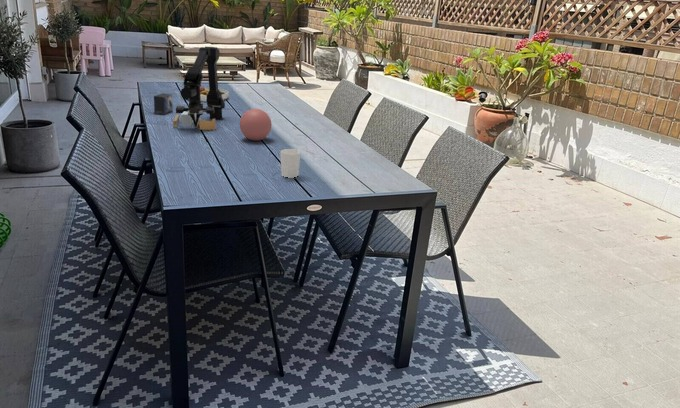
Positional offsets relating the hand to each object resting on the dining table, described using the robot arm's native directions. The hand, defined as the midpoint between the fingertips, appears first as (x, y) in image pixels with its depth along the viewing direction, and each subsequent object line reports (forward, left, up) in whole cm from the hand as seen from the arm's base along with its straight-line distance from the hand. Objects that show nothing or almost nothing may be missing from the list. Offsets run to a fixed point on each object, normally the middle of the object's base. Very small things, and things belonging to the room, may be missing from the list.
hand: (195, 126), depth 279 cm
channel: (+5, -10, -1) cm, 12 cm away
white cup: (-42, +78, -2) cm, 88 cm away
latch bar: (-6, 0, -1) cm, 6 cm away
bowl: (-1, -89, -2) cm, 89 cm away
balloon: (-30, +19, -2) cm, 35 cm away
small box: (+20, -39, -2) cm, 44 cm away
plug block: (+5, -12, -2) cm, 13 cm away
